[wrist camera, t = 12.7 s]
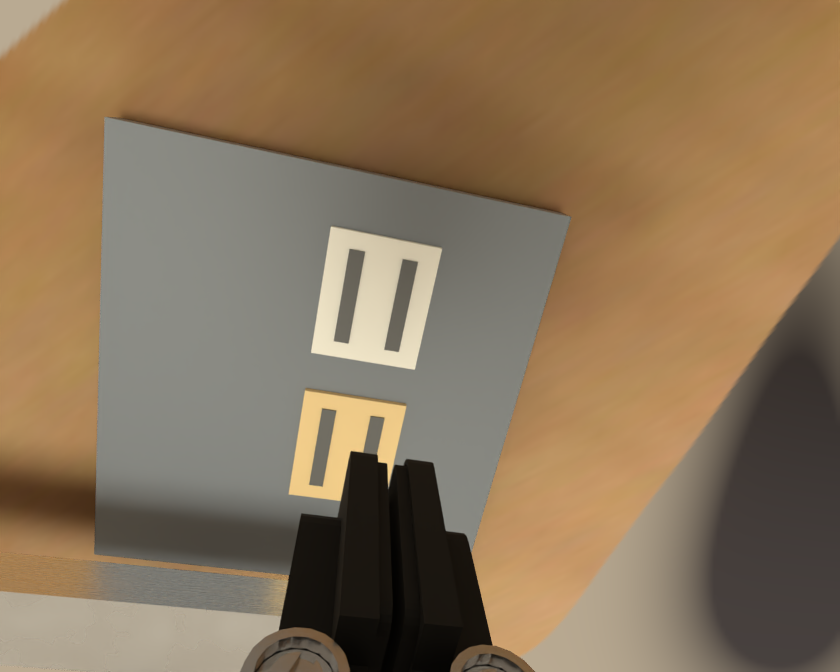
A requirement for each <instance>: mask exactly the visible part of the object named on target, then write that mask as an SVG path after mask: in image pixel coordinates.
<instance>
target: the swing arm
mask: <svg viewBox="0 0 840 672" xmlns="http://www.w3.org/2000/svg"><path fill="white" fill-rule="evenodd" d="M287 584H288V580H278V579H268V578H258V577H248V576H238V575H228V574H218V573H208V572H198V571H187V570H177V569H167V568H157V567H147V566H137V565H127V564H117V563H107V562H96V561H86V560H76V559H66V558H56V557H46V556H36V555H26V554H16V553H6V552H0V665H4V666H17V667H32V668H46V669H58V670H72V671H86V672H240V671H241V668H242V666H243V664H244V661H245V660H246V658H247V656H248V655H249V653H250V652H251V650H252V648H253V647H254V646H255V645H256V644H258V643H259V642H260V641H261V640H262V639H263V638H264V637H266V636H268V635H270V634H272V633H274V632H277V631H279V626H280V620H281V615H282V610H283V605H284V600H285V595H286V589H287Z"/></svg>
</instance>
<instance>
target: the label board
mask: <svg viewBox="0 0 840 672" xmlns="http://www.w3.org/2000/svg"><path fill="white" fill-rule="evenodd" d="M570 220H571V217H570V216H568V215H565V214H563V213H560V212H555V211H551V210H546V209H541V208H537V207H532V206H527V205H523V204H518V203H514V202H509V201H504V200H500V199H495V198H490V197H486V196H481V195H476V194H472V193H467V192H462V191H458V190H453V189H449V188H444V187H439V186H435V185H430V184H425V183H421V182H416V181H411V180H407V179H402V178H397V177H393V176H388V175H383V174H379V173H374V172H370V171H365V170H360V169H356V168H351V167H346V166H342V165H337V164H332V163H328V162H323V161H318V160H314V159H309V158H305V157H300V156H295V155H291V154H286V153H281V152H277V151H272V150H267V149H263V148H258V147H253V146H249V145H244V144H240V143H235V142H230V141H226V140H221V139H216V138H212V137H207V136H202V135H198V134H193V133H188V132H184V131H179V130H175V129H170V128H165V127H161V126H156V125H151V124H147V123H142V122H137V121H133V120H128V119H123V118H114V117H105V127H104V169H103V211H102V253H101V295H100V337H99V379H98V421H97V463H96V505H95V547H94V554H96V555H105V556H115V557H124V558H134V559H143V560H152V561H162V562H171V563H181V564H190V565H199V566H209V567H218V568H227V569H237V570H246V571H256V572H265V573H274V574H284V575H289V574H290V569H291V563H292V558H293V553H294V548H295V543H296V538H297V532H298V527H299V522H300V517H301V513H304V514H312V515H320V516H328V517H336V518H337V517H338V512H339V507H340V501H341V496H342V491H343V486H344V481H345V476H346V471H347V466H348V460H349V456H350V452H351V451H356V452H363V453H370V454H377V455H378V462H381V463H387V466H388V489H389V485H390V481H391V476H392V472H393V468H394V465H395V464H396V465H404V462H405V460H406V459H412V460H420V461H427V462H432V463H433V464H434V468H435V473H436V479H437V485H438V490H439V496H440V501H441V507H442V512H443V518H444V524H445V529H446V531H450V532H458V533H464V534H465V535H466V536H467V538H468V541H469V546H470V550H471V552H472V549H473V545H474V542H475V538H476V535H477V532H478V528H479V525H480V522H481V518H482V515H483V512H484V508H485V505H486V502H487V498H488V495H489V492H490V488H491V485H492V481H493V478H494V475H495V471H496V468H497V465H498V461H499V458H500V455H501V451H502V448H503V445H504V441H505V438H506V434H507V431H508V428H509V424H510V421H511V418H512V414H513V411H514V408H515V404H516V401H517V398H518V394H519V391H520V388H521V384H522V381H523V377H524V374H525V371H526V367H527V364H528V361H529V357H530V354H531V351H532V347H533V344H534V341H535V337H536V334H537V331H538V327H539V324H540V320H541V317H542V314H543V310H544V307H545V304H546V300H547V297H548V294H549V290H550V287H551V284H552V280H553V277H554V273H555V270H556V267H557V263H558V260H559V257H560V253H561V250H562V247H563V243H564V240H565V237H566V233H567V230H568V227H569V223H570Z"/></svg>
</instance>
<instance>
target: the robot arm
mask: <svg viewBox="0 0 840 672" xmlns="http://www.w3.org/2000/svg"><path fill="white" fill-rule="evenodd" d="M240 672H535V671H534V670H533V669H532V668H531V667H530V666H529V665H528V664H527V663H526V662H525V661H524V660H523V659H521V658H520V657H518V656H517V655H515V654H514V653H512V652H511V651H508V650H505V649H503V648H500V647H497V646H493V645H492V641H491V637H490V632H489V628H488V624H487V619H486V615H485V611H484V606H483V602H482V598H481V593H480V589H479V585H478V580H477V576H476V572H475V567H474V563H473V559H472V554H471V550H470V546H469V541H468V538H467V536H466V535H465V534H464V533H458V532H450V531H446V529H445V524H444V518H443V512H442V507H441V501H440V496H439V490H438V485H437V479H436V473H435V468H434V464H433V463H432V462H427V461H420V460H412V459H406V460H405V462H404V465H396V464H395V465H394V468H393V472H392V476H391V481H390V485H389V489H388V466H387V463H381V462H378V455H377V454H370V453H363V452H356V451H351V452H350V456H349V460H348V466H347V471H346V476H345V481H344V486H343V491H342V496H341V501H340V507H339V512H338V517H337V518H336V517H328V516H320V515H312V514H304V513H301V517H300V522H299V527H298V532H297V538H296V543H295V548H294V553H293V558H292V563H291V569H290V574H289V579H288V584H287V589H286V595H285V600H284V605H283V610H282V615H281V620H280V626H279V631H277V632H274V633H272V634H270V635H268V636H266V637H264V638H263V639H262V640H261V641H260V642H259V643H258V644H256V645H255V646H254V647H253V648H252V650H251V652H250V653H249V655H248V656H247V658H246V660H245V661H244V664H243V666H242V668H241V671H240Z"/></svg>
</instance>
